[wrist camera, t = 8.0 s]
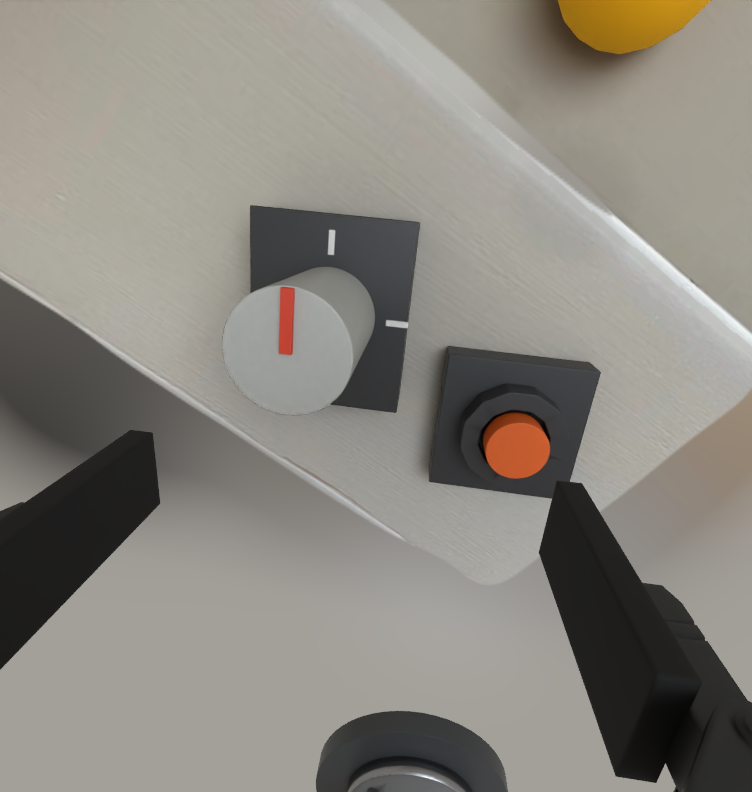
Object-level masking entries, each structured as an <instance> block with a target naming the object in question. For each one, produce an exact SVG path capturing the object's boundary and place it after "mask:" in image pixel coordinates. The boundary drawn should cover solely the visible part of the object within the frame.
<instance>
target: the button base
mask: <svg viewBox="0 0 752 792" xmlns="http://www.w3.org/2000/svg"><path fill="white" fill-rule="evenodd" d="M600 373H601V372H600V371H599V370H598V369H597V368H595V367H594V366H593V365H592V364H591V363H588V362H579V361H571V360H562V359H554V358H545V357H537V356H528V355H520V354H511V353H503V352H494V351H486V350H477V349H469V348H460V347H452V346H448V347H447V354H446V360H445V367H444V373H443V380H442V386H441V393H440V399H439V406H438V412H437V419H436V425H435V432H434V438H433V444H432V451H431V457H430V464H429V482H435V483H442V484H450V485H457V486H464V487H471V488H479V489H486V490H493V491H501V492H508V493H515V494H523V495H530V496H537V497H545V498H553V494H554V490H555V486H556V482H557V481H565V482H570V478H571V475H572V471H573V468H574V464H575V461H576V457H577V454H578V450H579V447H580V443H581V440H582V436H583V433H584V429H585V426H586V422H587V419H588V415H589V412H590V408H591V405H592V401H593V398H594V394H595V391H596V387H597V384H598V380H599V377H600ZM514 412H516V413H523V414H527V415H529V416H531V417H532V418H534V419H535V420H536V421H537V422H538V423H539V424H540V426H541V427H542V429H543V431H544V433H545V435H546V436H547V438H548V440H549V444H550V454H549V458H548V460H547V462H546V464H545V465H544V466H543V467H542V469H540V470H539V471H538V472H537V473H535V474H533V475H531V476H529V477H525V478H518V479H514V478H507V477H504V476H502V475H500V474H498V473H497V472H495V471H494V470H493V469H492V468H491V466H490V465H489V463H488V461H487V458H486V454H485V450H484V446H483V435H484V432H485V430H486V428H487V426H488V425H489V424H490V423H491V422H492V421H493V420H494V419H495V418H497V417H499V416H501V415H503V414H506V413H514Z"/></svg>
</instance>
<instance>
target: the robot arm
mask: <svg viewBox="0 0 752 792" xmlns="http://www.w3.org/2000/svg"><path fill="white" fill-rule="evenodd" d="M159 504H160V498H159V489H158V479H157V470H156V460H155V451H154V442H153V433H151V432H142V431H134V430H130V431H128V432H127V433H126V434H124V435H123V436H121V437H120V438H118V439H117V440H115V441H114V442H113V443H111V444H110V445H108V446H107V447H105V448H104V449H102V450H101V451H99V452H98V453H97V454H95V455H94V456H92V457H91V458H89V459H88V460H86V461H85V462H83V463H82V464H80V465H79V466H78V467H76V468H75V469H73V470H72V471H70V472H69V473H67V474H66V475H65V476H63V477H62V478H60V479H59V480H58V481H56V482H54V483H53V484H51V485H50V486H48V487H47V488H46V489H44V490H43V491H41V492H40V493H38V494H37V495H35V496H34V497H32V498H31V499H30V500H28V501H27V502H25V503H23V502H21V503H18V504H16V505H14V506H12V507H9V508H7V509H4V510H2V511H0V669H1V668H2V667H3V666H4V665H5V664H6V663H7V662H8V661H9V660H10V659H11V658H12V657H13V656H14V655H15V654H16V653H17V652H18V651H19V649H21V647H22V646H23V645H24V644H25V643H26V642H27V641H28V640H29V639H30V638H31V637H32V636H33V635H34V634H35V633H36V632H37V631H38V630H39V629H40V628H41V627H42V626H43V625H44V624H45V623H46V622H47V620H48V619H49V618H50V617H51V616H52V615H53V614H54V613H55V612H56V611H57V610H58V609H59V608H60V607H61V606H62V605H63V604H64V603H65V602H66V601H67V600H68V599H69V597H71V595H73V593H74V592H75V591H76V590H77V589H78V588H79V587H80V586H81V585H82V584H83V583H84V582H85V581H86V580H87V579H88V578H89V577H90V576H91V575H92V574H93V573H94V572H95V571H96V570H97V568H98V567H99V566H100V565H101V564H102V563H103V562H104V561H105V560H106V559H107V558H108V557H109V556H110V555H111V554H112V553H113V552H114V551H115V550H116V549H117V548H118V547H119V546H120V545H121V544H122V543H123V542H124V540H125V539H126V538H127V537H128V536H129V535H130V534H131V533H132V532H133V531H134V530H135V529H136V528H137V527H138V526H139V525H140V524H141V523H142V522H143V521H144V520H145V519H146V518H147V517H148V515H149V514H150V513H151V512H152V511H153V510H154V509H155V508H156V507H157V506H158V505H159ZM539 554H540V557H541V560H542V563H543V566H544V568H545V571H546V575H547V577H548V580H549V583H550V586H551V589H552V592H553V595H554V598H555V600H556V604H557V607H558V609H559V612H560V615H561V618H562V621H563V624H564V627H565V630H566V633H567V636H568V638H569V641H570V644H571V647H572V650H573V653H574V656H575V659H576V662H577V665H578V668H579V670H580V673H581V676H582V679H583V682H584V685H585V688H586V691H587V694H588V697H589V700H590V702H591V705H592V708H593V711H594V714H595V717H596V720H597V723H598V726H599V729H600V731H601V734H602V737H603V740H604V743H605V746H606V749H607V752H608V755H609V758H610V760H611V764H612V766H613V769H614V772H615V775H616V776H617V777H623V778H629V779H636V780H642V781H648V782H654V783H656V782H657V780H658V778H659V776H660V773H661V771H662V769H663V767H664V765H665V763H666V765H667V767H668V769H669V772H670V774H671V776H672V778H673V780H674V783H675V785H676V788H675V790H674V792H752V703H751V702H749V701H747V699H746V697H745V696H744V695H743V693H742V692H741V690H740V689H739V687H738V686H737V684H736V683H735V681H734V680H733V678H732V677H731V676H730V674H729V673H728V671H727V669H726V668H725V667H724V665H723V664H722V662H721V661H720V659H719V658H718V656H717V655H716V653H715V652H714V650H713V649H712V647H711V646H710V644H709V643H708V642H707V641H705V637H704V635H703V634H702V633H701V631H700V629H699V628H698V627H697V625H694V621H693V619H692V618H691V616H690V615H689V613H688V612H687V610H686V609H685V607H684V606H683V604H682V603H681V602H680V601H679V600H678V599H677V598H675V597H674V596H673V595H672V594H671V593H670V592H669V591H667V590H666V589H665V588H664V587H663V586H661V585H654V584H647V583H642V582H641V580H640V579H639V577H638V576H637V574H636V572H635V570H634V569H633V567H632V566H631V564H630V562H629V560H628V559H627V557H626V556H625V554H624V552H623V551H622V549H621V547H620V546H619V544H618V542H617V541H616V539H615V537H614V536H613V534H612V533H611V531H610V529H609V527H608V526H607V524H606V522H605V521H604V519H603V517H602V516H601V514H600V512H599V511H598V509H597V507H596V506H595V504H594V502H593V501H592V499H591V497H590V496H589V494H588V493H587V491H586V489H585V488H584V486H583V484H582V483H574V482H565V481H557V482H556V486H555V490H554V494H553V498H552V502H551V506H550V510H549V514H548V518H547V522H546V526H545V530H544V534H543V538H542V542H541V546H540V550H539ZM347 792H472V790H471V788H470V787H469V785H468V784H467V783H466V782H465V780H464V779H463V778H461V777H460V776H459V775H458V774H457V773H455V772H454V771H452V770H450V769H449V768H447V767H445V766H443V765H441V764H438V763H436V762H433V761H430V760H426V759H422V758H416V757H408V756H394V757H386V758H381V759H377V760H374V761H371V762H369V763H367V764H365V765H363V766H362V767H360V768H359V769H358V770H356V771H355V772H354V774H353V775H352V776H351V778H350V780H349V783H348V787H347Z"/></svg>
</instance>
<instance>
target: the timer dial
mask: <svg viewBox="0 0 752 792" xmlns="http://www.w3.org/2000/svg"><path fill="white" fill-rule="evenodd" d="M374 324H375V311H374V306H373V302H372V299H371V297H370V295H369V293H368V291H367V290H366V288H365V287H364V285H363V284H362V283H361V282H360V281H359V280H358V279H357V278H355V277H354V276H353V275H351V274H350V273H348V272H346V271H344V270H341V269H338V268H333V267H317V268H312V269H310V270H307V271H304V272H302V273H299V274H297V275H294V276H292V277H289V278H287V279H284V280H281V281H279V282H276V283H274V284H271V285H269V286H266V287H264V288H261V289H258V290H256V291H254V292H252V293H250V294H249V295H247V296H246V297H244V298H243V299H242V300H241V301H240V302H239V303H238V304H237V305H236V306H235V307H234V309H233V310H232V312H231V313H230V315H229V317H228V319H227V321H226V324H225V327H224V332H223V338H222V350H223V357H224V362H225V365H226V368H227V370H228V372H229V374H230V377H231V378H232V380H233V382H234V383H235V385H236V386H237V387H238V388H239V390H240V391H241V392H242V393H243V394H244V395H245V396H246V397H247V398H248V399H250V400H251V401H252V402H254V403H255V404H257V405H259V406H260V407H262V408H264V409H266V410H269V411H271V412H275V413H278V414H283V415H305V414H310V413H313V412H316V411H319V410H321V409H323V408H325V407H326V406H328V405H329V404H331V403H332V402H333V401H334V400H335V399H337V398H338V396H339V395H340V394H341V393H342V392H343V390H344V388H345V387H346V385H347V383H348V381H349V379H350V377H351V375H352V373H353V371H354V369H355V367H356V365H357V363H358V361H359V359H360V357H361V355H362V353H363V351H364V349H365V347H366V345H367V343H368V341H369V339H370V337H371V335H372V332H373V329H374Z"/></svg>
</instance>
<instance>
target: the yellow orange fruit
mask: <svg viewBox="0 0 752 792" xmlns="http://www.w3.org/2000/svg"><path fill="white" fill-rule="evenodd" d="M710 1H711V0H558V3H559V6H560V10H561V13H562V16H563V19H564V21H565V23H566V24H567V25H568V27H569V28H570V29H571V30H572V32H573V33H574V34H575V36H576V37H577V38H578V39H579V40H581V41H583V42H584V43H586V44H588V45H589V46H591V47H592V48H594V49H596V50H598V51H604V52H610V53H615V54H623V53H628V52H632V51H637V50H641V49H645V48H650V47H652V46H653V45H655V44H657V43H659V42H660V41H662V40H664V39H666V38H667V37H669V36H671V35H672V34H674V33H676V32H677V31H679V30H681V29H682V28H683V27H684V26H685V25H686V24H687V23H688V22H689V21H690V20H691V19H692V18H694V17H695V16H696V15H697V14H698V13H699V12H700V11H701V10H702V9H703V8H704V7H705V6H706V5H707V4H708V3H709V2H710Z"/></svg>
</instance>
